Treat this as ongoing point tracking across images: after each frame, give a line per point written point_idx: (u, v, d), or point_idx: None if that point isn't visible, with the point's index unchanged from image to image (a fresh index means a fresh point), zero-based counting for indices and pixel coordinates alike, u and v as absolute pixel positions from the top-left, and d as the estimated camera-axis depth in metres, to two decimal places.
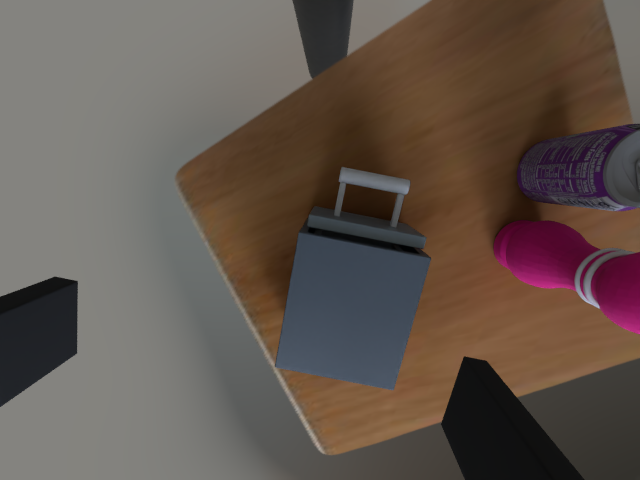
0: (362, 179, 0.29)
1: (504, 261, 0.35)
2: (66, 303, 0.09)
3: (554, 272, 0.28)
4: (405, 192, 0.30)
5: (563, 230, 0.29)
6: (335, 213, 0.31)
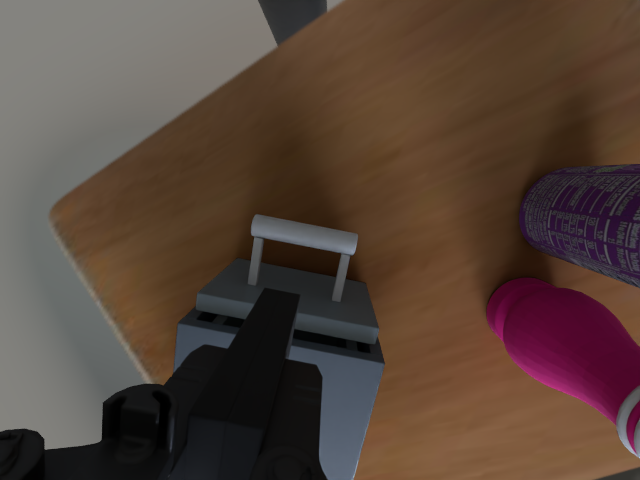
0: (284, 234, 0.19)
1: (501, 336, 0.25)
2: None
3: (578, 385, 0.18)
4: (351, 253, 0.20)
5: (590, 311, 0.19)
6: (249, 281, 0.21)
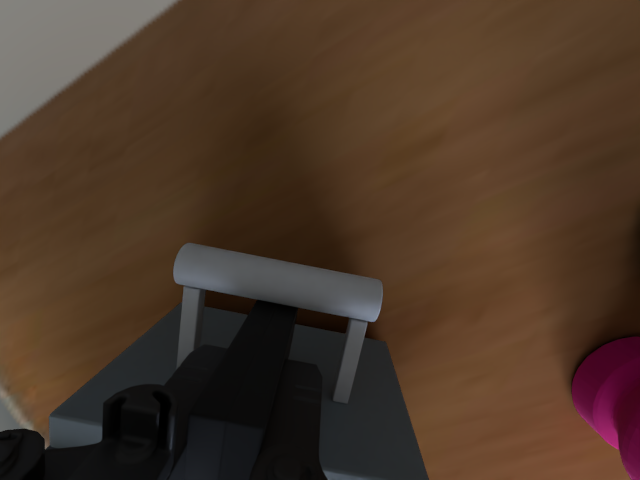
0: (239, 285, 0.10)
1: (602, 431, 0.16)
2: None
3: None
4: (369, 320, 0.10)
5: None
6: (179, 366, 0.11)
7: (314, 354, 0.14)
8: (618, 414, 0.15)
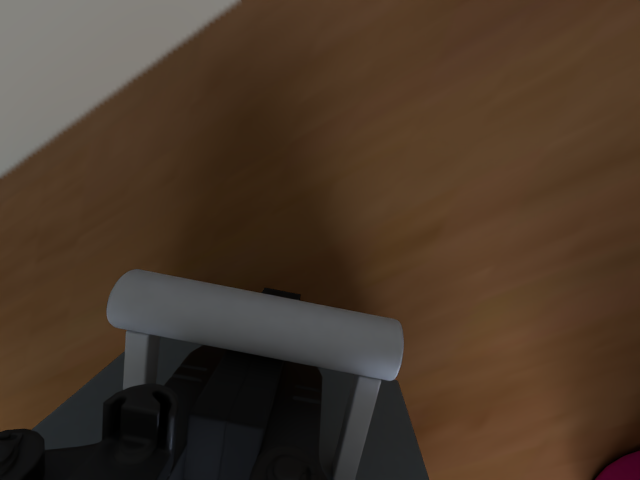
0: (200, 331, 0.07)
1: None
2: None
3: None
4: (384, 379, 0.07)
5: None
6: None
7: None
8: None
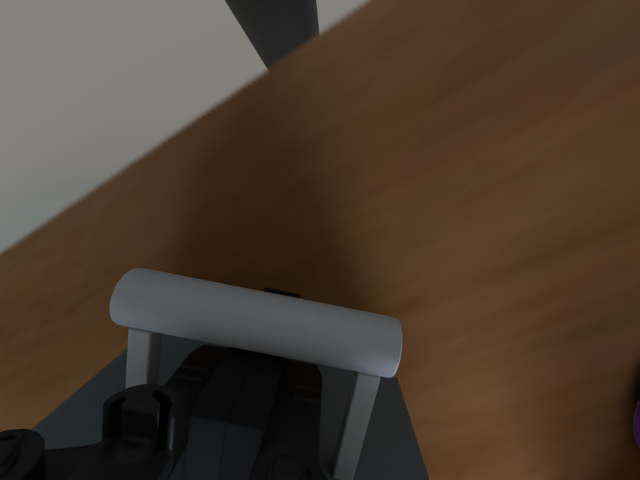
0: (202, 329, 0.07)
1: None
2: None
3: None
4: (383, 376, 0.07)
5: None
6: None
7: None
8: None
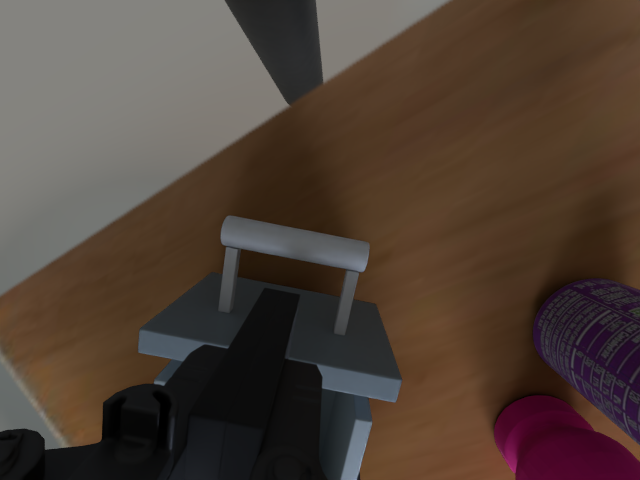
0: (267, 243, 0.14)
1: (512, 467, 0.21)
2: None
3: None
4: (360, 269, 0.14)
5: None
6: (220, 307, 0.15)
7: (319, 308, 0.18)
8: (519, 456, 0.20)
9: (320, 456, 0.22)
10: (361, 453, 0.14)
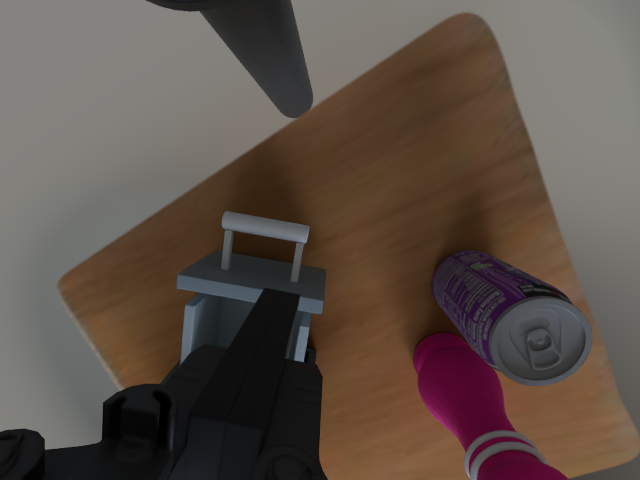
0: (249, 227, 0.24)
1: None
2: None
3: (454, 431, 0.24)
4: (303, 241, 0.24)
5: (471, 372, 0.25)
6: (222, 266, 0.25)
7: (285, 270, 0.28)
8: None
9: None
10: (304, 347, 0.24)
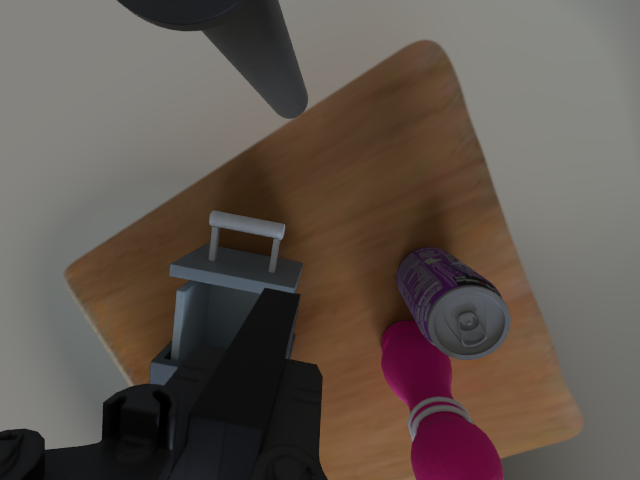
0: (232, 224, 0.28)
1: None
2: None
3: (406, 401, 0.28)
4: (279, 237, 0.28)
5: (423, 352, 0.29)
6: (209, 258, 0.29)
7: (265, 262, 0.32)
8: None
9: None
10: None
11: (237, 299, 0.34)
